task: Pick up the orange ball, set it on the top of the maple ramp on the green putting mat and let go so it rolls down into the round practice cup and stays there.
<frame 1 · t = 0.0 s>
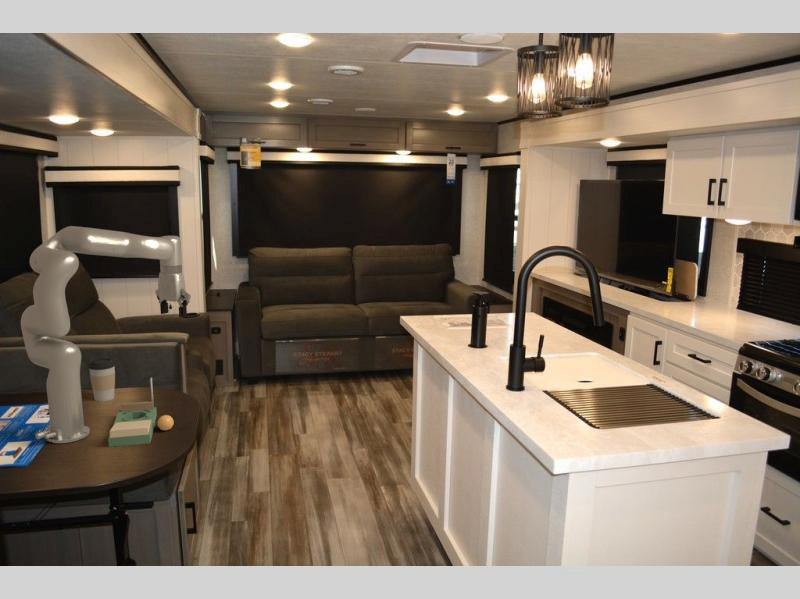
hand: (173, 315, 238), 31 cm above the table, tool pointing down, fingers open, 9 cm apart
putting mat: (134, 430, 212), on the table
ball: (165, 422, 212), point 2 cm above the table
coffee cup: (104, 398, 240), on the table
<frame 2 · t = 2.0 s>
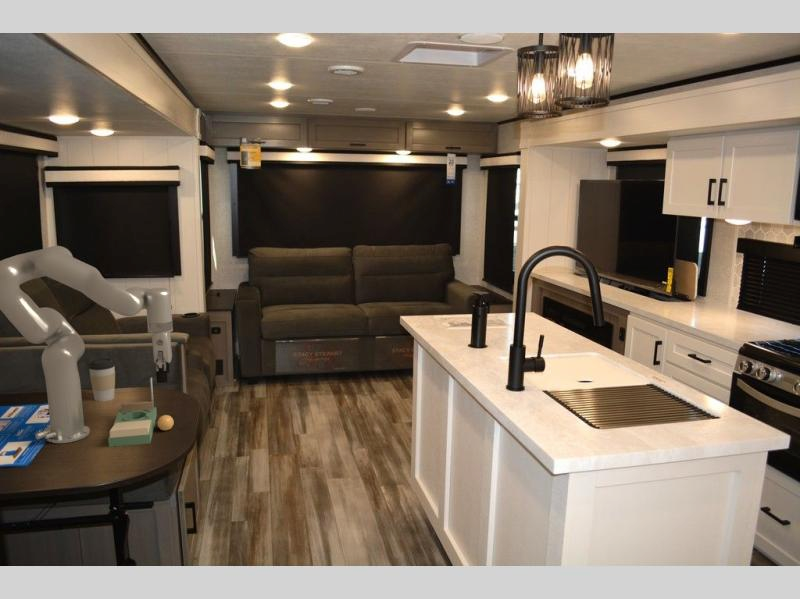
hand: (163, 377, 209), 18 cm above the table, tool pointing down, fingers open, 9 cm apart
nothing on the table moved.
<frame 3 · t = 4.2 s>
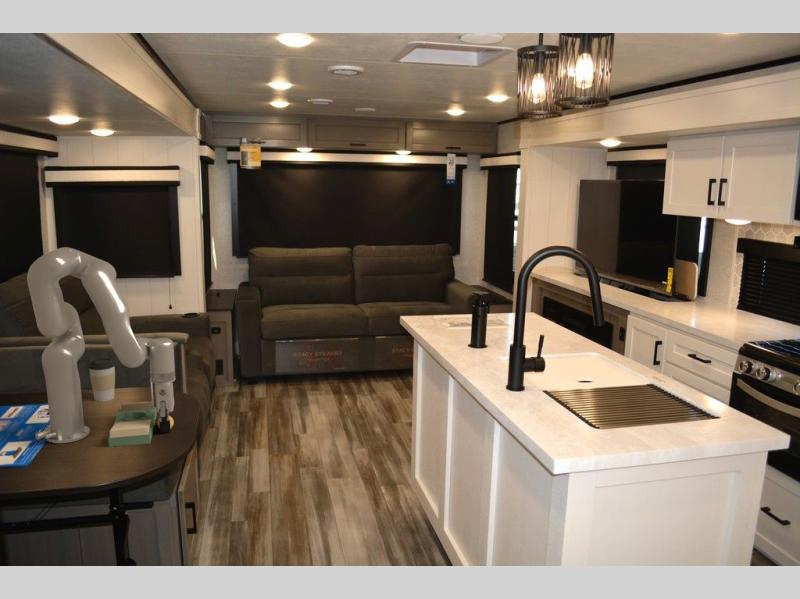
hand: (165, 428, 212), 1 cm above the table, tool pointing down, fingers closed on ball, 4 cm apart
ball: (165, 422, 212), point 2 cm above the table, touching gripper
everything else where it was.
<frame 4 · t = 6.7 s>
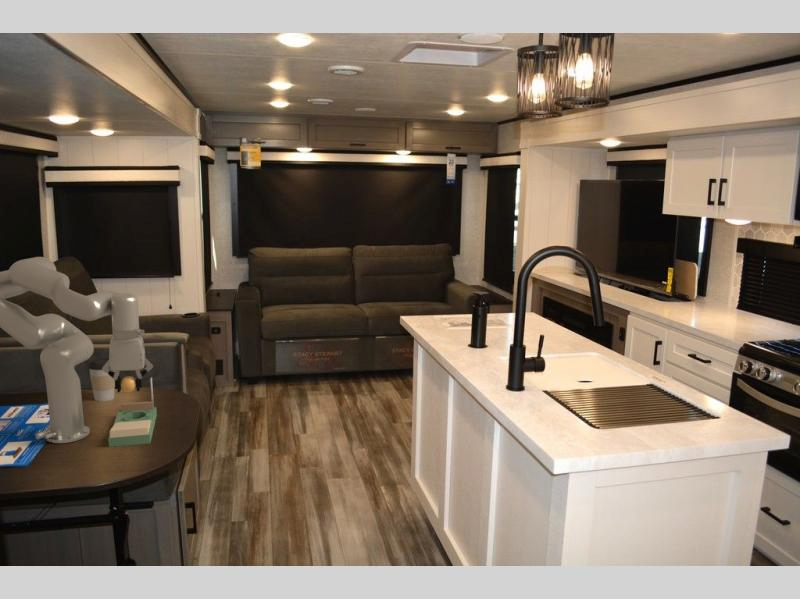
hand: (128, 389, 200), 17 cm above the table, tool pointing down, fingers closed on ball, 4 cm apart
ball: (128, 384, 200), point 19 cm above the table, touching gripper
everything else where it was.
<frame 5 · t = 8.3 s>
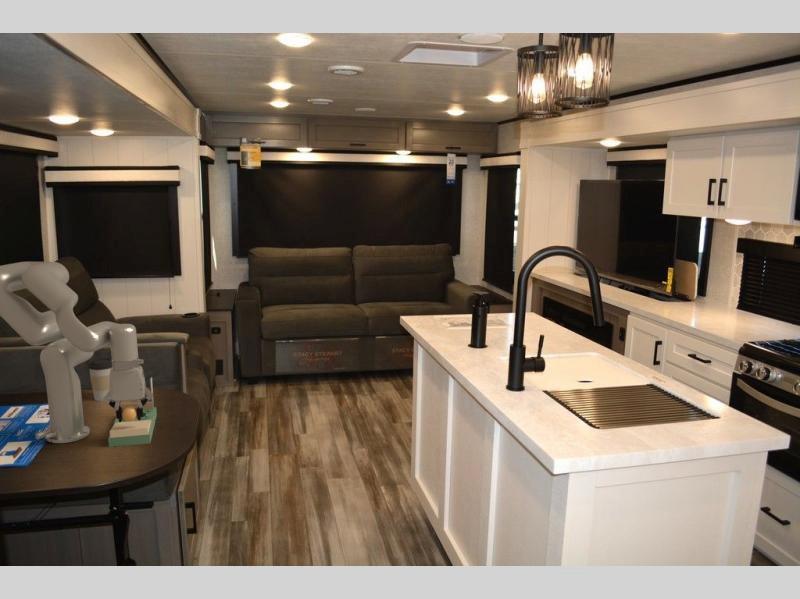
hand: (130, 419, 201), 8 cm above the table, tool pointing down, fingers closed on ball, 4 cm apart
ball: (129, 413, 201), point 10 cm above the table, touching gripper
everything else where it was.
when the fingers open (6 cm above the table, at t = 9.3 s): ball drops 5 cm, resting on putting mat.
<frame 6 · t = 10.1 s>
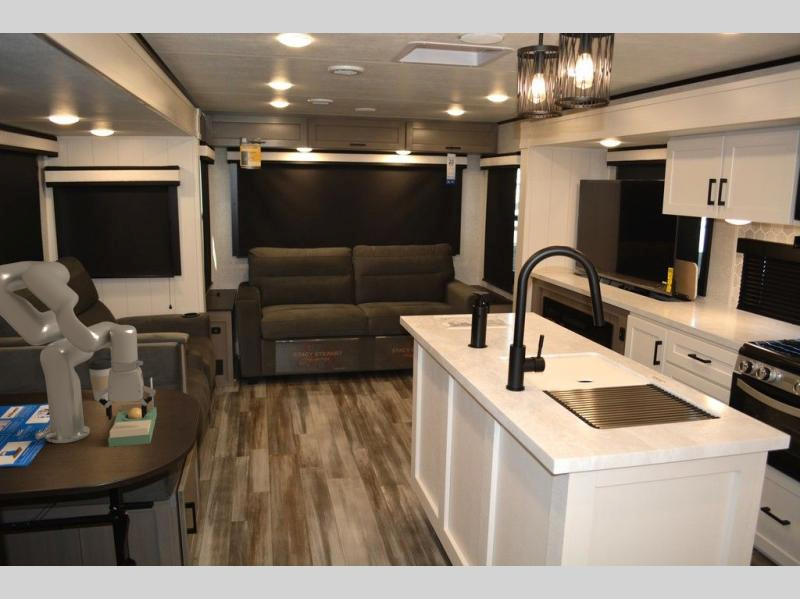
hand: (127, 417, 201), 8 cm above the table, tool pointing down, fingers open, 9 cm apart
ball: (135, 415, 217), point 3 cm above the table, tilted 14°, touching putting mat
everything else where it was.
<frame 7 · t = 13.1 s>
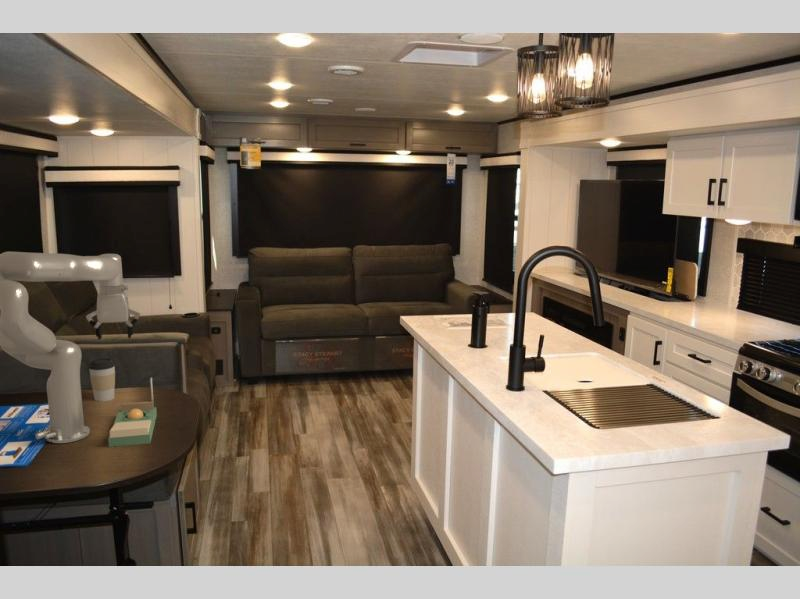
hand: (115, 337, 224), 26 cm above the table, tool pointing down, fingers open, 9 cm apart
ball: (135, 416, 216), point 3 cm above the table, tilted 9°, touching putting mat
everything else where it was.
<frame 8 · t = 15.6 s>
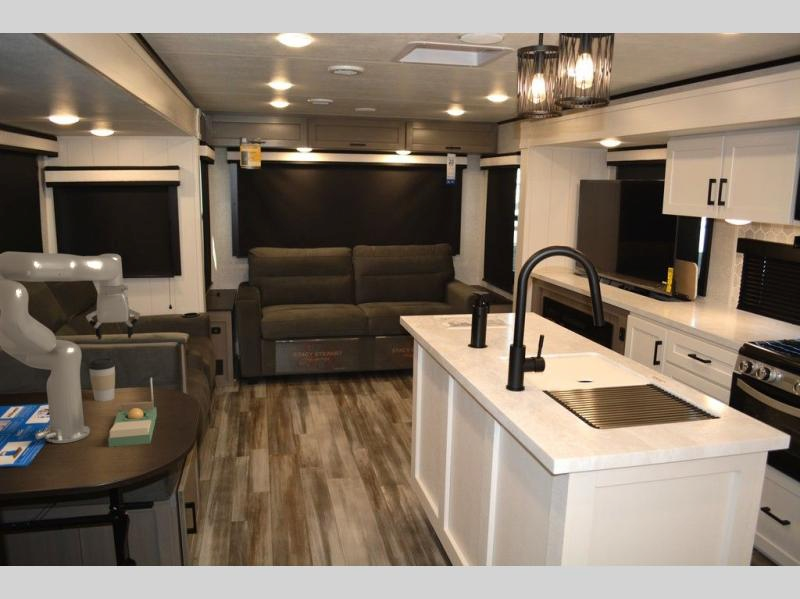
hand: (115, 337, 224), 26 cm above the table, tool pointing down, fingers open, 9 cm apart
nothing on the table moved.
at the end: ball 0.2 cm from the target spot on the putting mat, point 2.9 cm above the putting mat's base; the gripper is holding nothing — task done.
